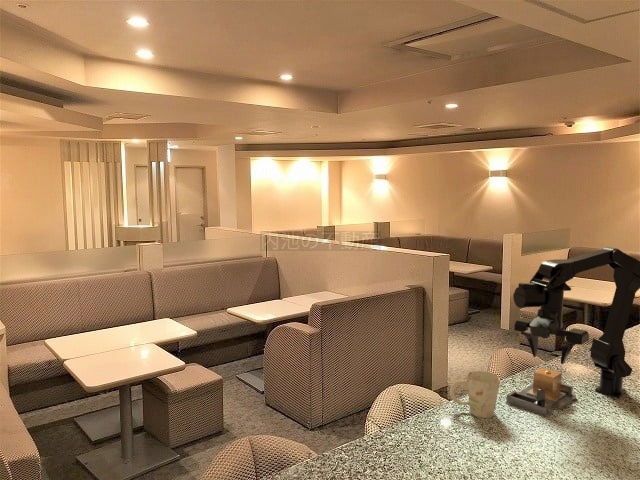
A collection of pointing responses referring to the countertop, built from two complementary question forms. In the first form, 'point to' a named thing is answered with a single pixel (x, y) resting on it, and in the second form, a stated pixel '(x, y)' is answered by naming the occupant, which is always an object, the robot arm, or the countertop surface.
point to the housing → (547, 382)
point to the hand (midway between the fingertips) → (548, 360)
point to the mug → (479, 393)
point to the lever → (540, 397)
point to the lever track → (528, 403)
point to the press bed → (557, 401)
